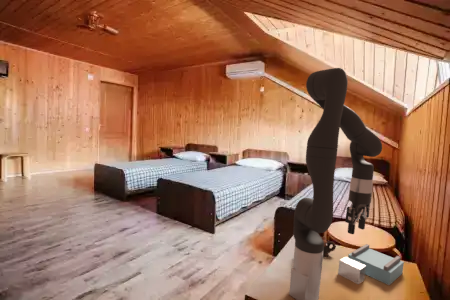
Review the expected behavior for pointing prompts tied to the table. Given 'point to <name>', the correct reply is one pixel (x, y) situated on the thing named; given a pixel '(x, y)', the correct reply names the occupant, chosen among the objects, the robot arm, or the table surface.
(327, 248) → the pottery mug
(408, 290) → the table surface
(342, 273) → the block
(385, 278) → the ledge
